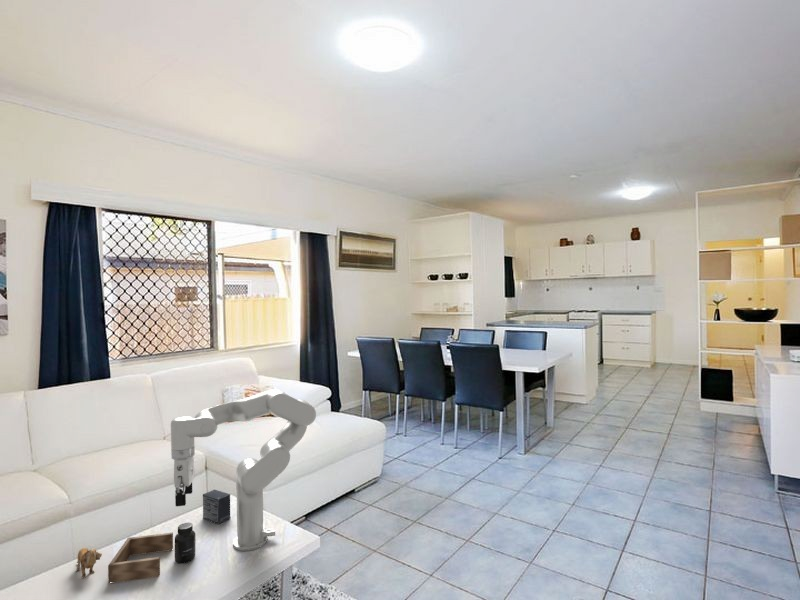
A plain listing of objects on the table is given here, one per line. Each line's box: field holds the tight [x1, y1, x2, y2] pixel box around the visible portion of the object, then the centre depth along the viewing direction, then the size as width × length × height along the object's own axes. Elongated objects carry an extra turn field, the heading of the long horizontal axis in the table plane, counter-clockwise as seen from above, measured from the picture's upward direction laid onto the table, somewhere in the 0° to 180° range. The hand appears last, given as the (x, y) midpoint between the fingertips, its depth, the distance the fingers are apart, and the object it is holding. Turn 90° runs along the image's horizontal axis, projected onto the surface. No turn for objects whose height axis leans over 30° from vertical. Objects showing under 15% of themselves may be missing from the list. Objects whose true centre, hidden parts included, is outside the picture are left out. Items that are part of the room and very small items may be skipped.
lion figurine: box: [75, 547, 103, 578], centre depth 153 cm, size 15×5×9 cm, turn 56°
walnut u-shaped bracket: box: [107, 532, 174, 584], centre depth 156 cm, size 15×17×6 cm
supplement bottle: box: [174, 522, 197, 565], centre depth 159 cm, size 7×7×12 cm
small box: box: [202, 489, 231, 525], centre depth 189 cm, size 11×6×10 cm, turn 60°
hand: (184, 499), depth 159 cm, fingers open, 9 cm apart
